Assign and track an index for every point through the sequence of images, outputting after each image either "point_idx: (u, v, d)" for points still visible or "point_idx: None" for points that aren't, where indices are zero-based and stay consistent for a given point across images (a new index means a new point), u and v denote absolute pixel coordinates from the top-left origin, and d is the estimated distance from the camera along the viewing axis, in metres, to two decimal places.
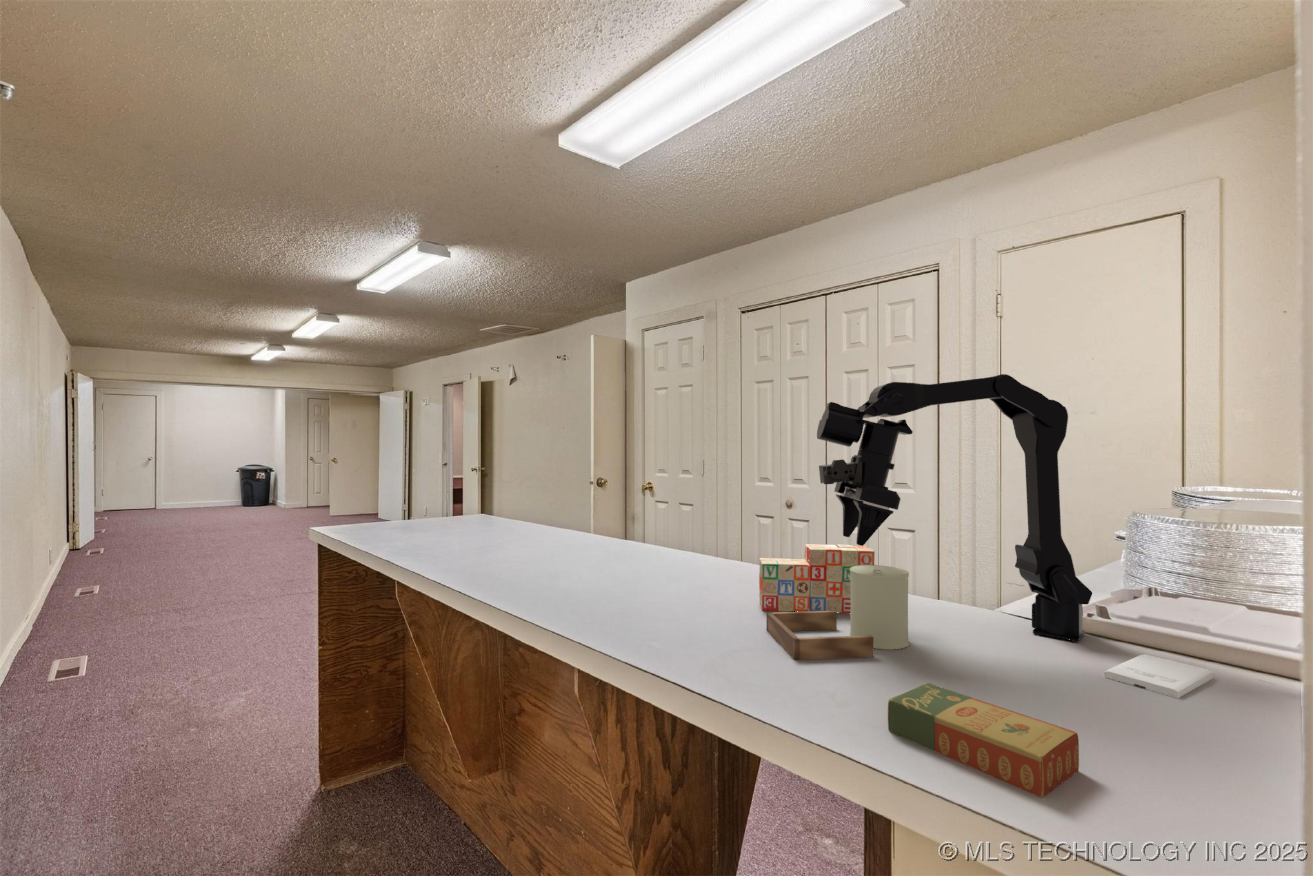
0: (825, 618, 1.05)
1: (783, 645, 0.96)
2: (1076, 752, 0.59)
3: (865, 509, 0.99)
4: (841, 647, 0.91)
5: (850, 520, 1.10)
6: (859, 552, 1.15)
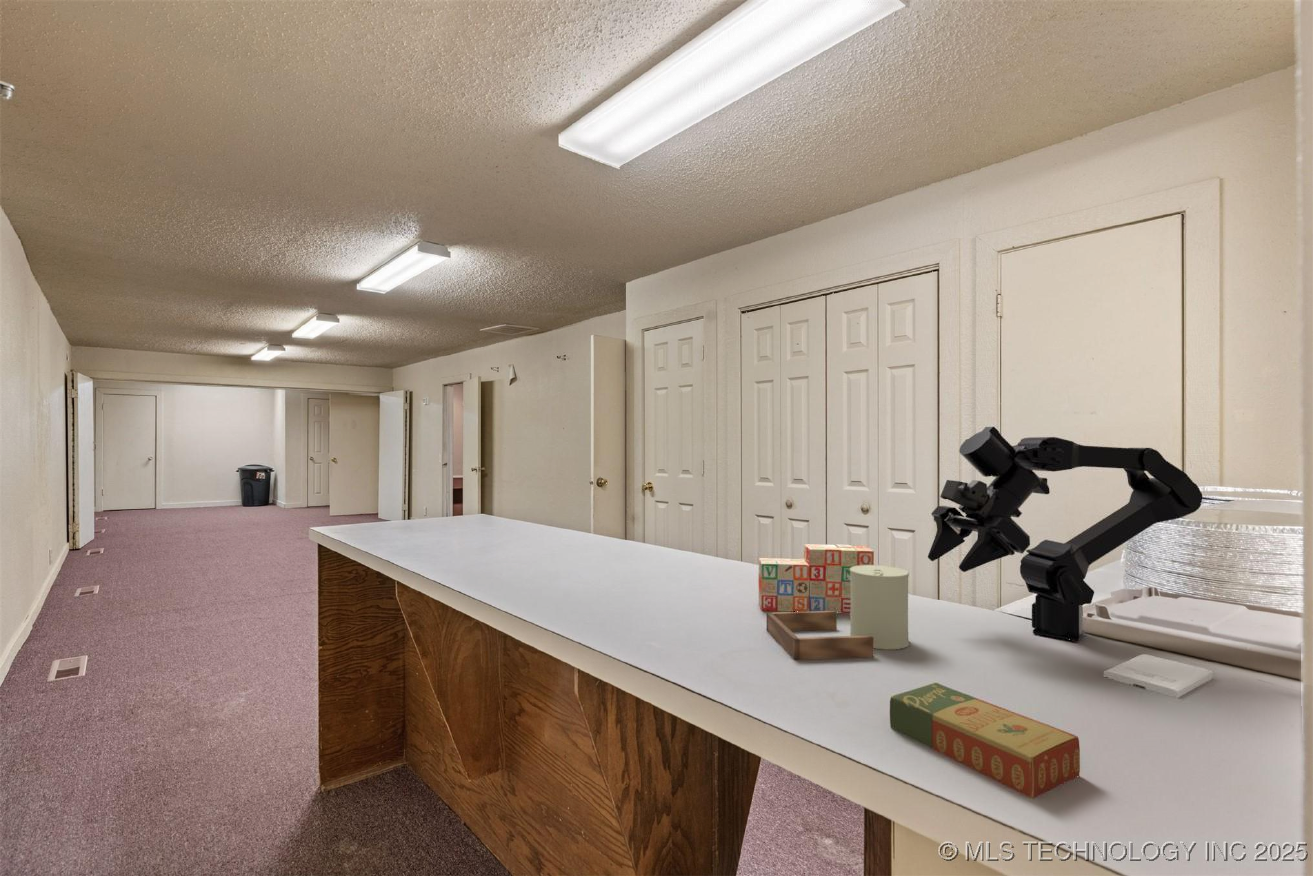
0: (825, 618, 1.05)
1: (783, 645, 0.96)
2: (1076, 756, 0.59)
3: (988, 539, 0.95)
4: (841, 647, 0.91)
5: (940, 546, 1.06)
6: (858, 552, 1.15)
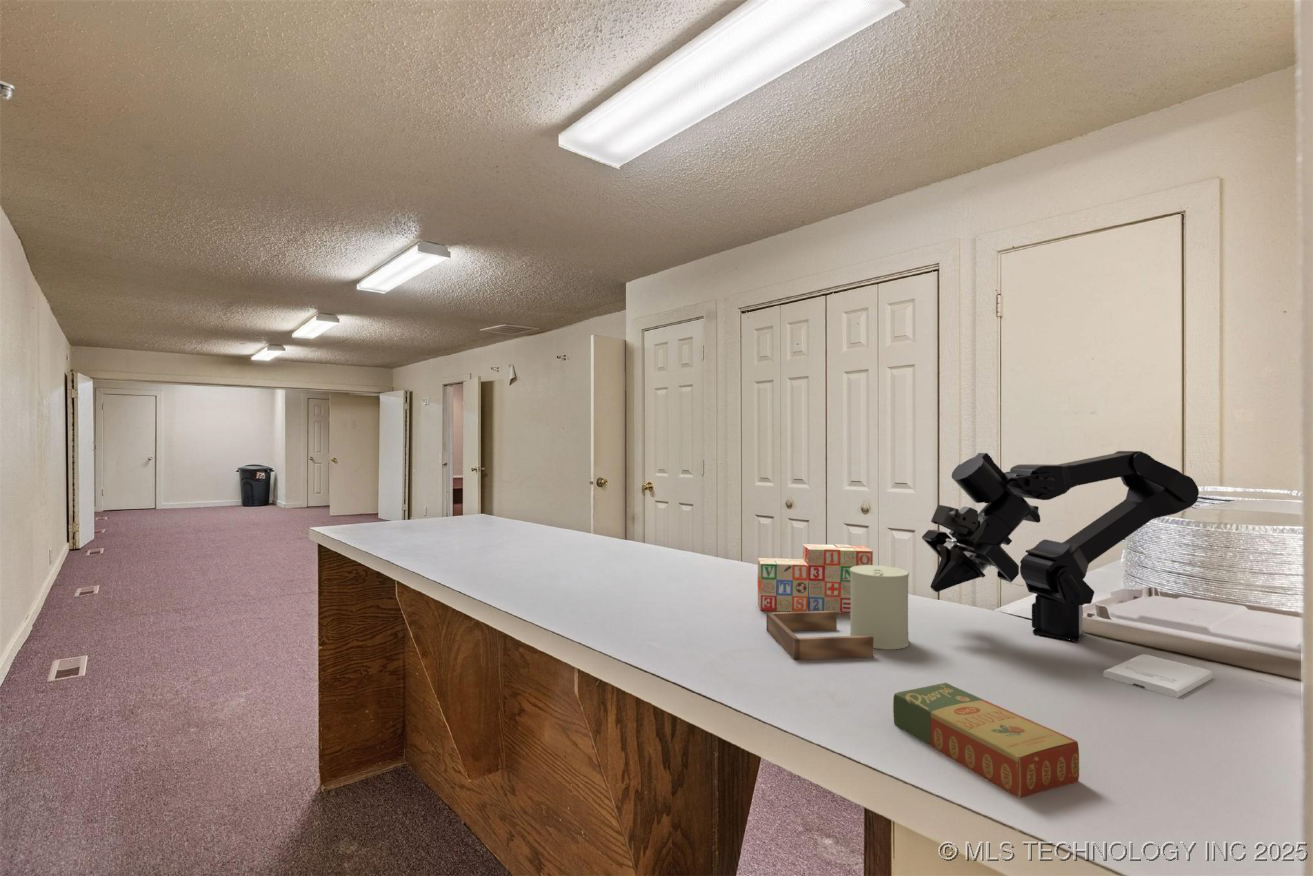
0: (825, 618, 1.05)
1: (783, 645, 0.96)
2: (1075, 761, 0.58)
3: (960, 561, 0.99)
4: (841, 647, 0.91)
5: None
6: (857, 552, 1.16)
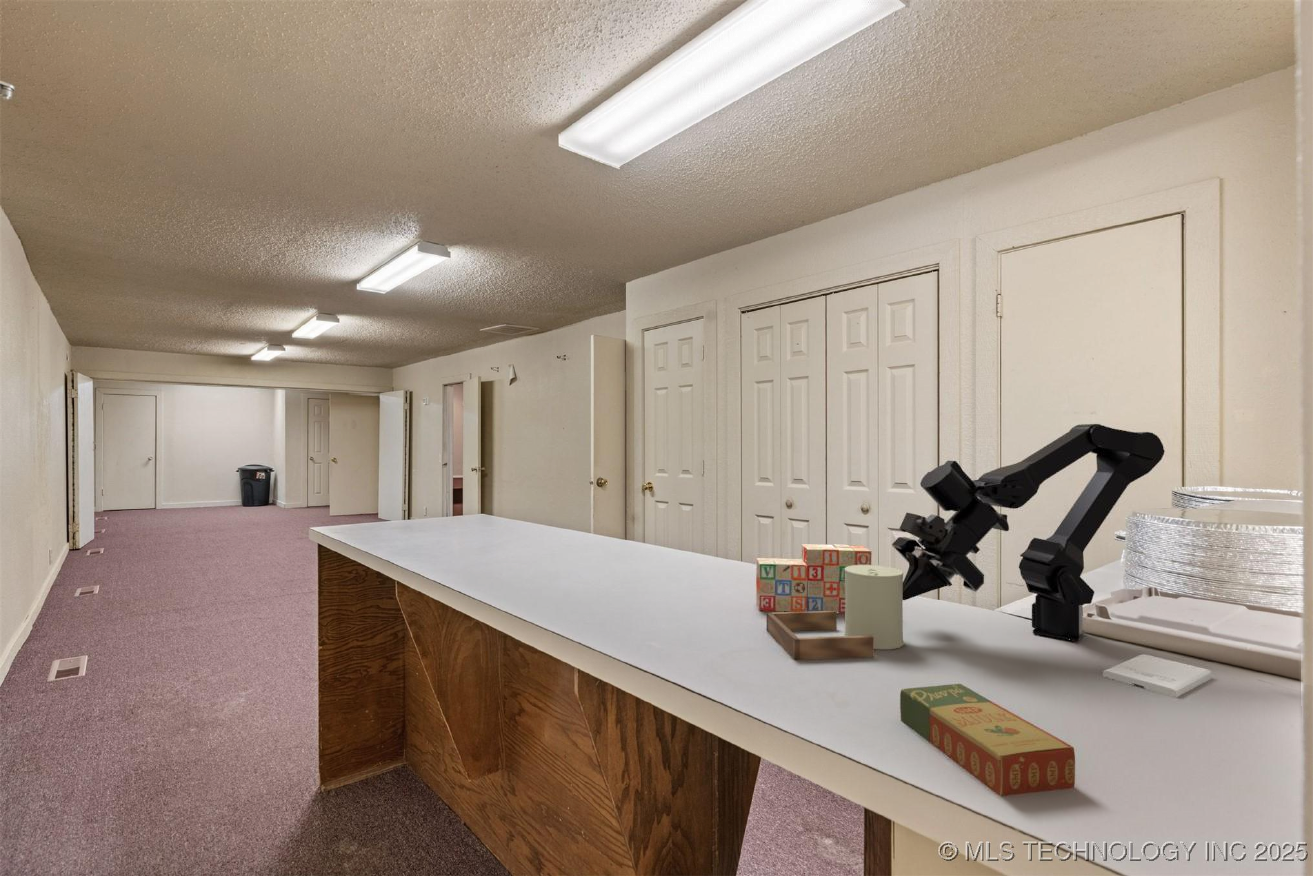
0: (825, 618, 1.05)
1: (783, 645, 0.96)
2: (1069, 767, 0.57)
3: (927, 569, 0.98)
4: (841, 647, 0.91)
5: None
6: (856, 552, 1.16)
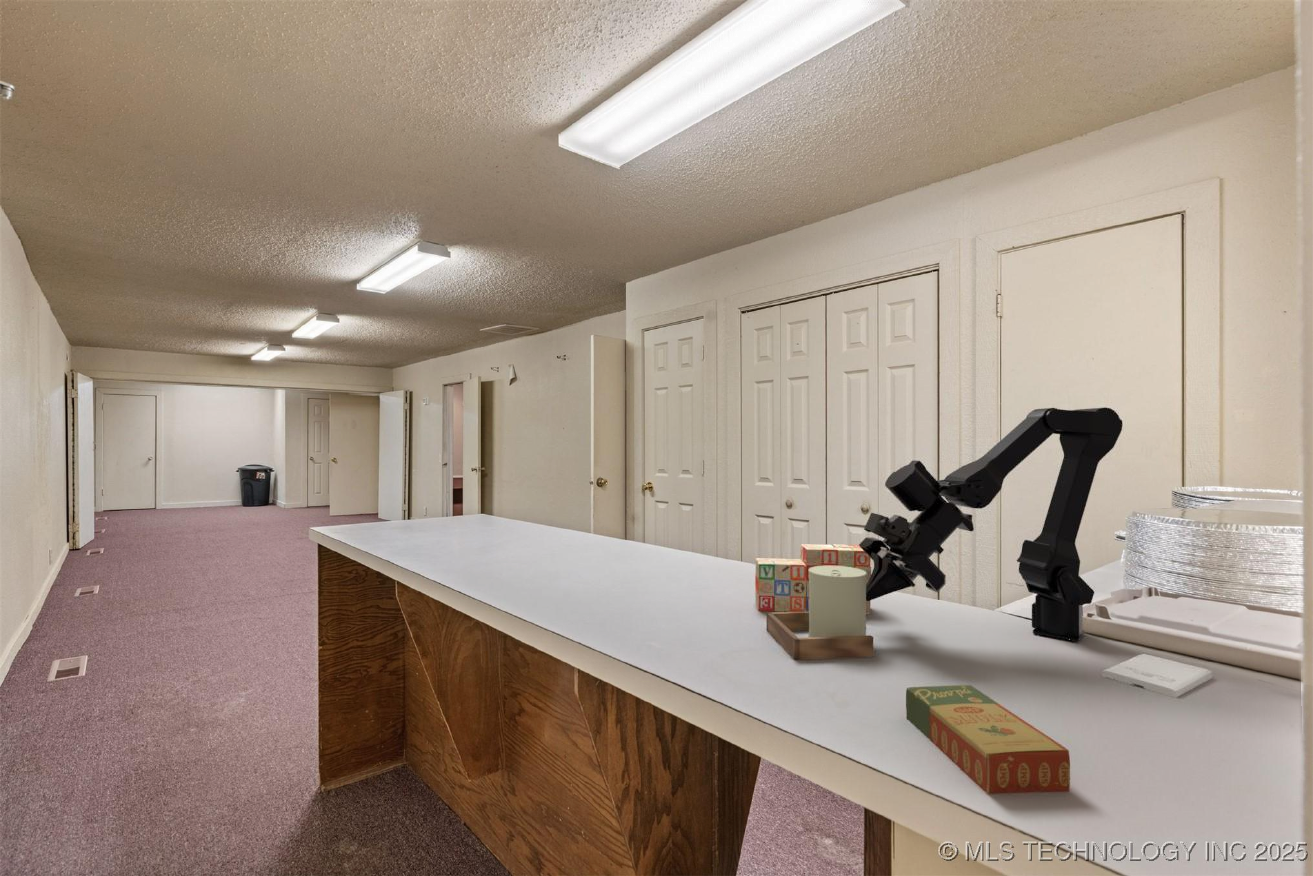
0: None
1: (783, 645, 0.96)
2: (1064, 769, 0.56)
3: (891, 570, 0.98)
4: (841, 647, 0.91)
5: None
6: (855, 552, 1.16)
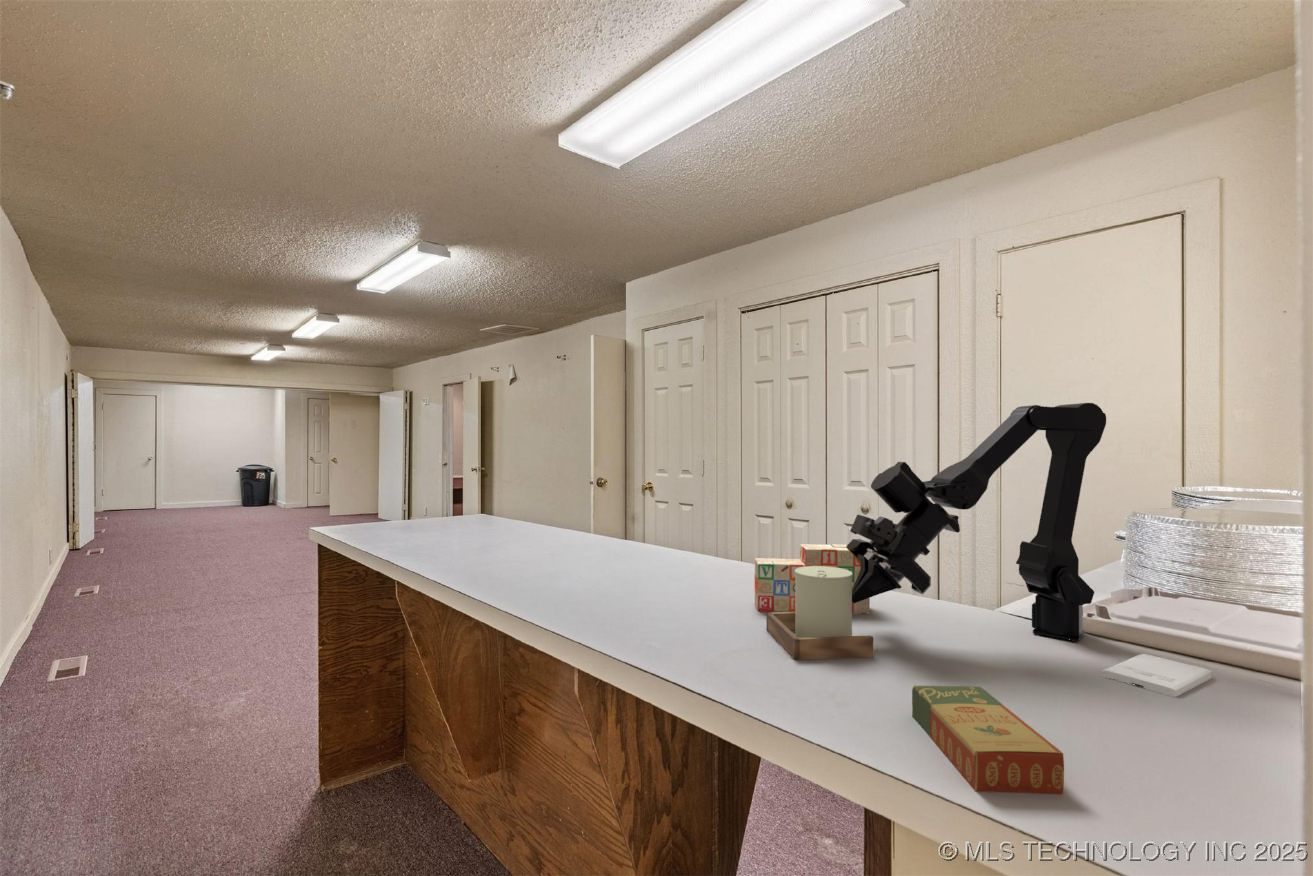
0: None
1: (783, 645, 0.96)
2: (1057, 772, 0.56)
3: (877, 572, 0.97)
4: (841, 647, 0.91)
5: None
6: None
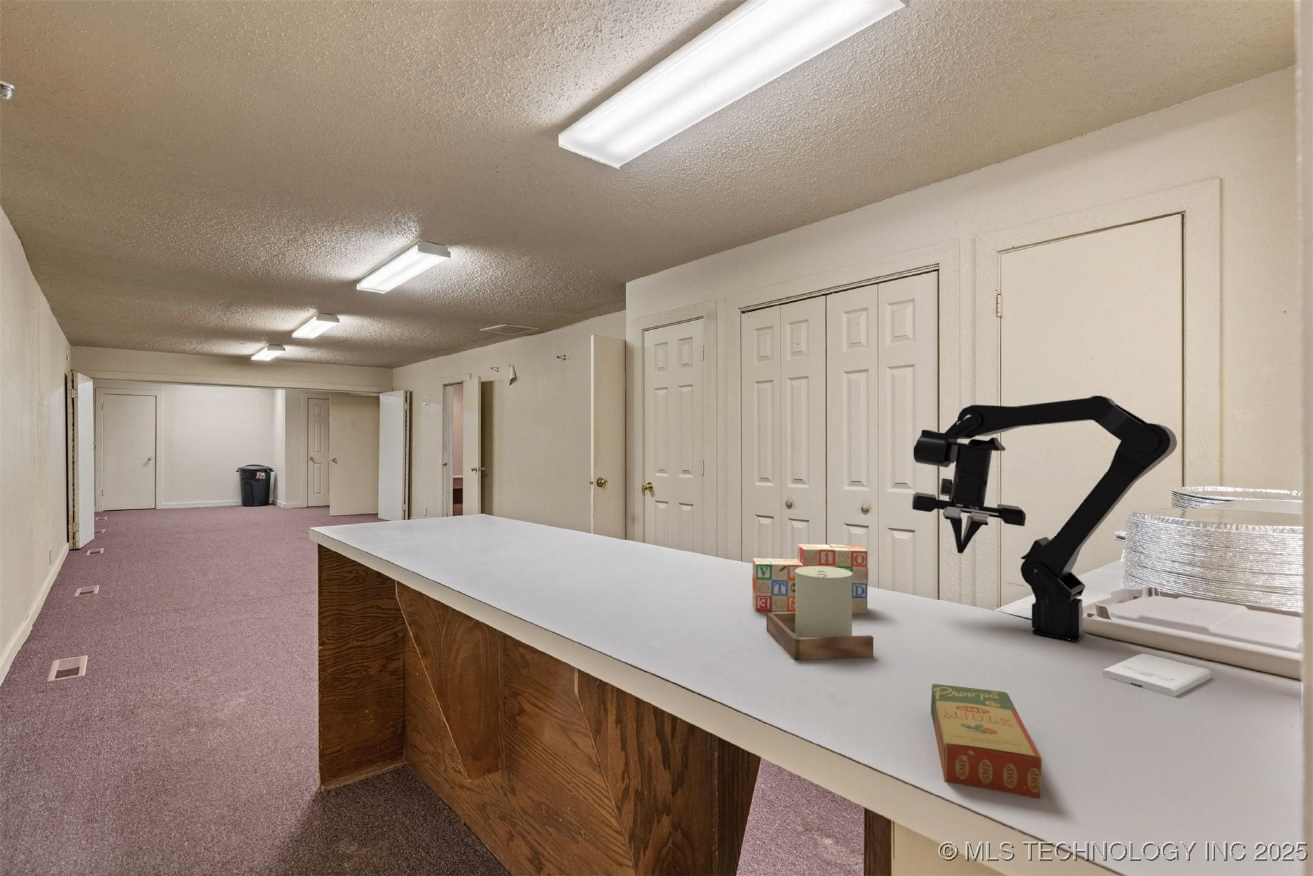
0: None
1: (783, 645, 0.96)
2: (1033, 775, 0.55)
3: None
4: (841, 647, 0.91)
5: (964, 537, 1.14)
6: (852, 552, 1.16)
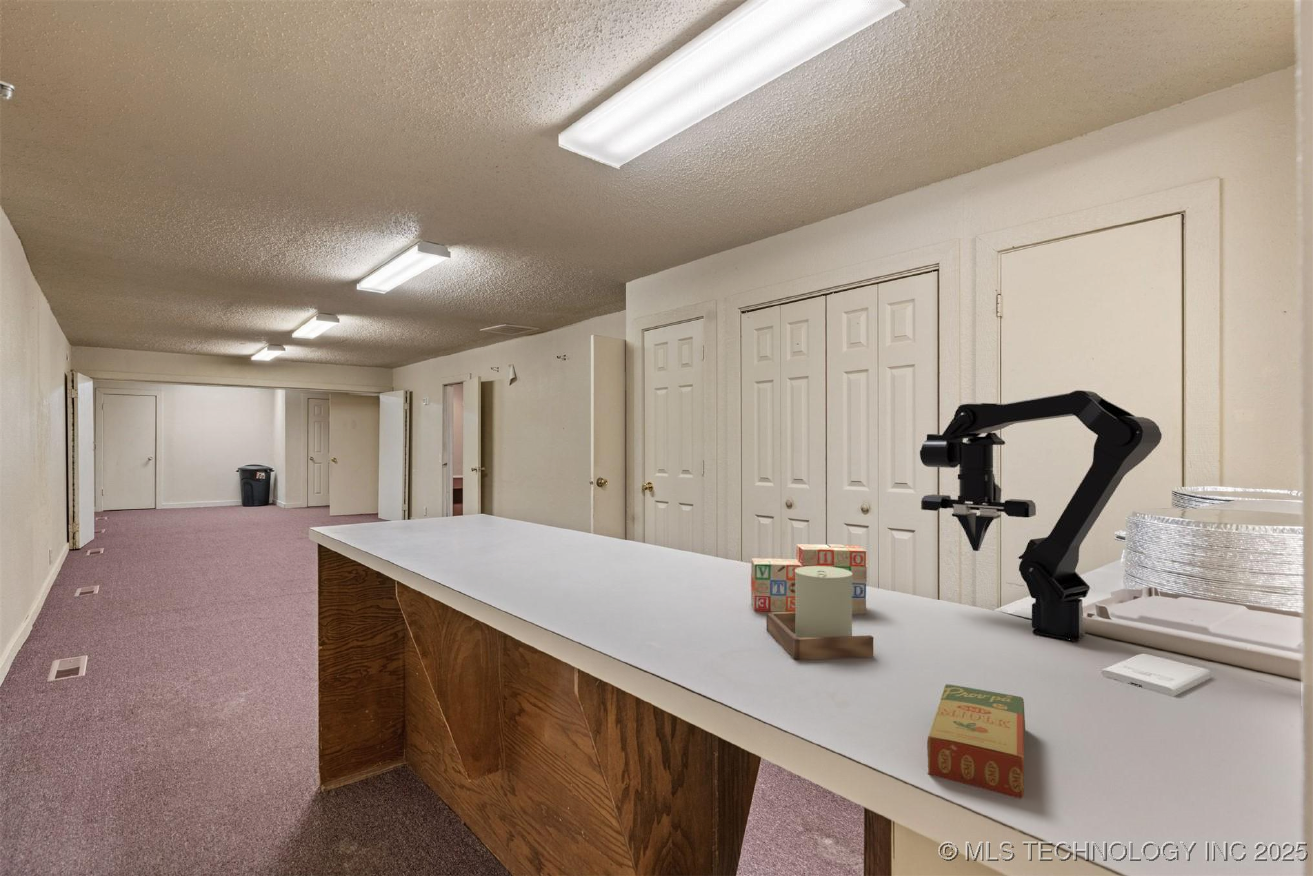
0: None
1: (783, 645, 0.96)
2: (1015, 774, 0.55)
3: None
4: (841, 647, 0.91)
5: None
6: (851, 552, 1.16)
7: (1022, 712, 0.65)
